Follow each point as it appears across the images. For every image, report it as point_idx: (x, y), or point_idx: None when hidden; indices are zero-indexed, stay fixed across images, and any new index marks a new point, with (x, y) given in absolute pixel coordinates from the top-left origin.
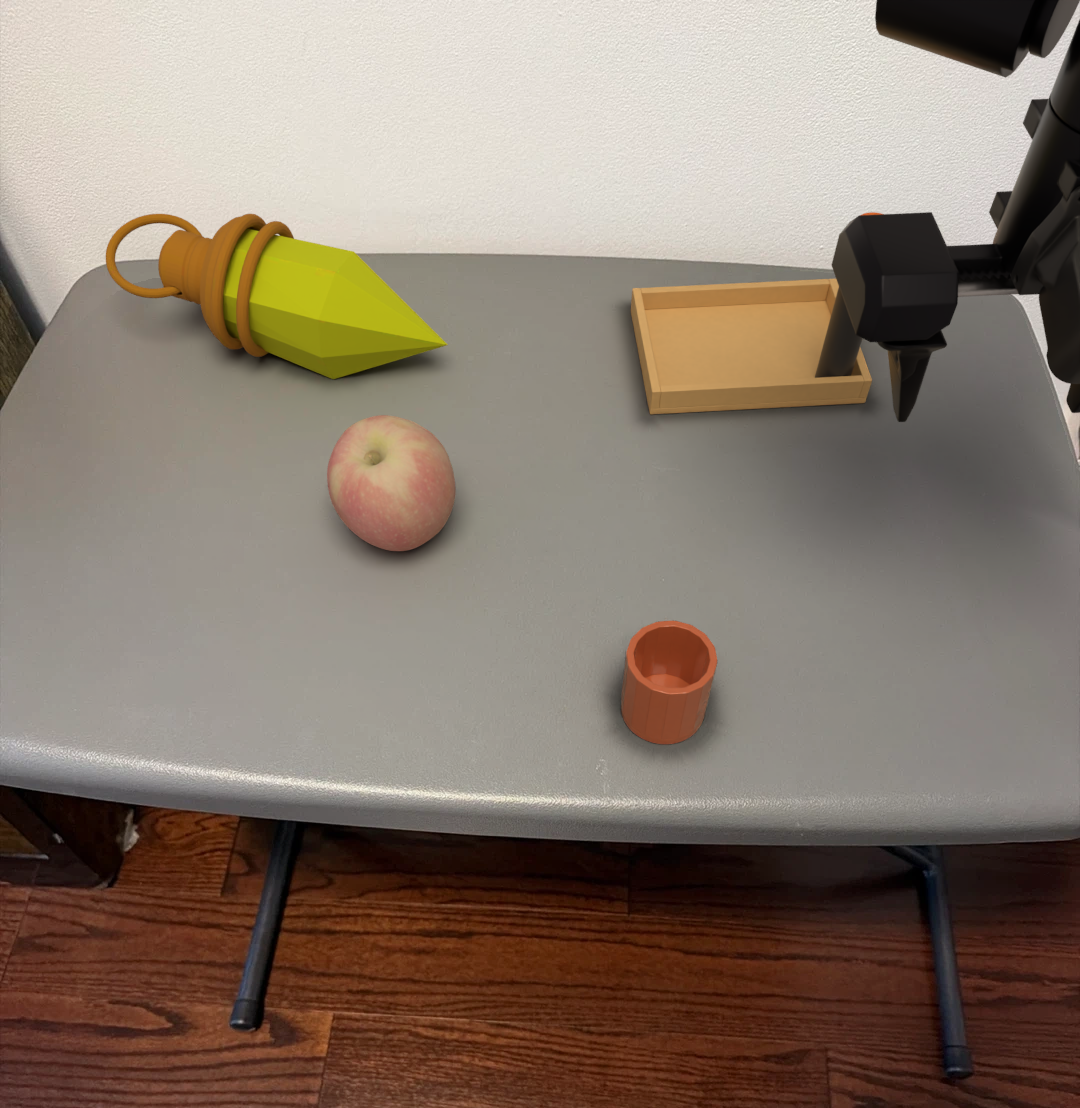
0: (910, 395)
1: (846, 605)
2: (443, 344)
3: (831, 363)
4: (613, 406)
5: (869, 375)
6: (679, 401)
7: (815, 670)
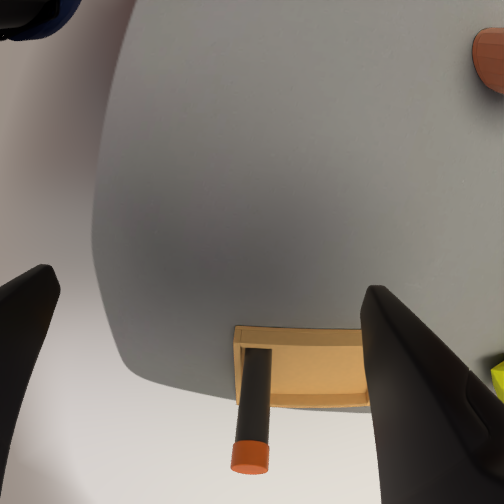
0: (418, 337)
1: (321, 118)
2: (492, 369)
3: (266, 359)
4: None
5: (234, 346)
6: None
7: (374, 51)
